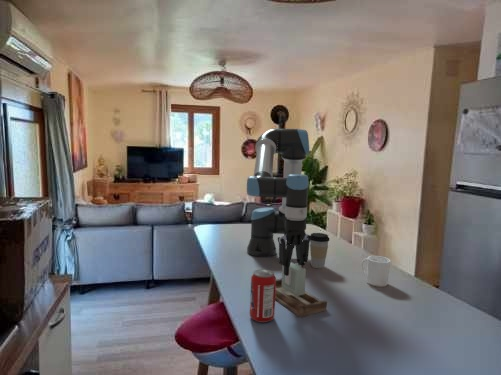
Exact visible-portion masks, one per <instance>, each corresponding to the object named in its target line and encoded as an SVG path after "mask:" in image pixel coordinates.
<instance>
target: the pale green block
mask: <svg viewBox="0 0 501 375" xmlns="http://www.w3.org/2000/svg"><path fill="white" fill-rule="evenodd" d="M281 266H282V268H281V270H282V272H281V278H282V288H284V289H286V290H287V291H289V292H291V293H292V294H294V295H296V296H299V295H304V294H305V291H306V273H307V268H304V267H303V268H302V267H300V266H298V265H296V264H295V263H294V262H291V263H290V266H291V267H292V272H291V285H288V284H286V283H285V275H284V266H283V265H281Z"/></svg>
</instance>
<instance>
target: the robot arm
mask: <svg viewBox="0 0 501 375" xmlns="http://www.w3.org/2000/svg"><path fill="white" fill-rule="evenodd" d="M309 139H310V138H309V133H308V131H307V130H306V129H300V128H271V129H269V130H267V131H265V132H263V133H261V134H260V136H259V137H258V138H257V140H256V142H255V146H254V147H255V150H254V151H255V152H256V155H255V164H254V171H253V176H248V177H247V180H246V194H247V195H248V196H250V197H256V198H257V197H259V198H260V197H263V198H264V197H265V198H282V200H281V206H279V207H278V210H276V209H275V207H260V208H255V209H254V210H252V212H251V218H250V220H251V223H250V224H251V227H250V229H251V230H250V239H249V242H248V244H247V248H246V253H247V254H248V255H251V256H254V257H261V258H262V257H263V258H264V257H266V258H267V257H273V256H275V255H276V254H277V248H276V242H275V239H274V235H275V234H277V235H283V236H281V237H280V236H279V237H277V242H278V257H279V258H278V264H279V265H281V266H282V265H283V266H284V275H285V283H286V284H288V285H291V272H292V267H291V266H290V263H292V256H293V251H294V249H295V255H296V262H295V263H294V264H296V265H298V266H300V267H302V268H304V267H303V266H305V265H306V263H308V262H309V253H310V252H309V251H310V240H311V234H307V233H306V230H307V219H306V218H307V217H308V216H307V215H308V196H309V185H310V184H309V176H308V175H307V174H302V168H303V162H304V161H305V160H306V159H307V158H306V157H307V156H308V155H310V140H309ZM275 154H281V156H280V157H281V159H282V160H283V177H278V176H277V177H275V176H273V174H274V173H273V171H274V156H275Z"/></svg>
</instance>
